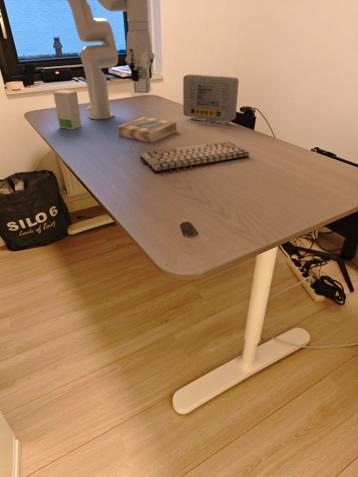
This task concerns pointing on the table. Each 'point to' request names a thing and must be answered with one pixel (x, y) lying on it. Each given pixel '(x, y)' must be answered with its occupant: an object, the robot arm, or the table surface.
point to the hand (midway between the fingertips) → (141, 79)
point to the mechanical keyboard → (192, 157)
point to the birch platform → (147, 129)
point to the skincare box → (67, 109)
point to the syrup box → (142, 74)
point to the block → (188, 229)
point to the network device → (210, 98)
